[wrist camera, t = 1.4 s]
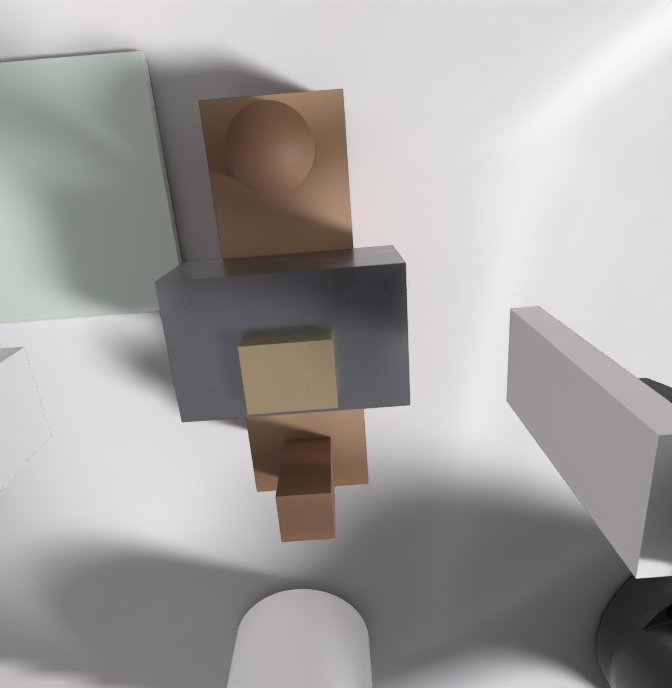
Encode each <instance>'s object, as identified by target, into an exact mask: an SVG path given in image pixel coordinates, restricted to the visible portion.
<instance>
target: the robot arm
mask: <svg viewBox="0 0 672 688" xmlns="http://www.w3.org/2000/svg"><path fill="white" fill-rule="evenodd" d="M507 402H508V403H509V405H510V406H511V408H512V409H513V410H514V412H515V413H516V414H517V416H518V417H519V419H520V420H521V421H522V423H523V424H524V425H525V427H526V428H527V429H528V431H529V432H530V434H531V435H532V436H533V438H534V439H535V440H536V442H537V443H538V445H539V446H540V447H541V449H542V450H543V451H544V453H545V454H546V456H547V457H548V458H549V460H550V461H551V462H552V464H553V465H554V467H555V468H556V469H557V471H558V472H559V473H560V475H561V476H562V478H563V479H564V480H565V482H566V483H567V484H568V486H569V487H570V489H571V490H572V491H573V493H574V494H575V495H576V497H577V498H578V500H579V501H580V502H581V504H582V505H583V506H584V508H585V509H586V511H587V512H588V513H589V515H590V516H591V517H592V519H593V520H594V522H595V523H596V524H597V526H598V527H599V528H600V530H601V531H602V533H603V534H604V535H605V537H606V538H607V539H608V541H609V542H610V544H611V545H612V546H613V548H614V549H615V550H616V552H617V553H618V555H619V556H620V557H621V559H622V560H623V561H624V563H625V564H626V566H627V567H628V568H629V570H630V571H631V572H632V574H633V575H634V576H632V577H631V578H630V579H629V580H628V581H627V582H626V583H625V584H624V585H623V587H622V588H621V589H620V590H619V591H618V592H617V594H616V595H615V596H614V598H613V599H612V601H611V602H610V604H609V605H608V607H607V609H606V611H605V613H604V615H603V617H602V620H601V623H600V626H599V630H598V635H597V644H596V647H597V657H598V662H599V665H600V668H601V670H602V672H603V674H604V676H605V678H606V680H607V682H608V684H609V685H610V687H611V688H672V388H671V387H669V386H666V385H664V384H661V383H658V382H656V381H653V380H651V379H648V378H639V379H638V378H637V377H635V376H634V375H632V374H631V373H630V372H628V371H627V370H626V369H624V368H623V367H621V366H620V365H619V364H617V363H616V362H615V361H613V360H612V359H611V358H609V357H608V356H606V355H605V354H604V353H602V352H601V351H600V350H598V349H597V348H595V347H594V346H593V345H591V344H590V343H589V342H587V341H586V340H584V339H583V338H582V337H580V336H579V335H578V334H576V333H575V332H573V331H572V330H571V329H569V328H568V327H567V326H565V325H564V324H563V323H561V322H560V321H558V320H557V319H556V318H554V317H553V316H552V315H550V314H549V313H547V312H546V311H545V310H543V309H542V308H541V307H539V306H537V307H524V308H511V309H510V331H509V354H508V377H507ZM50 437H51V432H50V429H49V426H48V422H47V419H46V416H45V413H44V409H43V406H42V403H41V399H40V396H39V393H38V390H37V386H36V383H35V380H34V376H33V373H32V370H31V367H30V363H29V360H28V357H27V353H26V350H25V347H17V348H5V349H0V490H1V489H2V488H3V487H4V486H5V485H6V484H7V483H8V482H9V481H10V479H11V478H12V477H13V476H14V475H15V474H16V473H17V472H18V471H19V470H20V469H21V468H22V467H23V466H24V465H25V464H26V463H27V462H28V461H29V459H30V458H31V457H32V456H33V455H34V454H35V453H36V452H37V451H38V450H39V449H40V448H41V447H42V446H43V445H44V444H45V443H46V442H47V440H48V439H49V438H50Z"/></svg>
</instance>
